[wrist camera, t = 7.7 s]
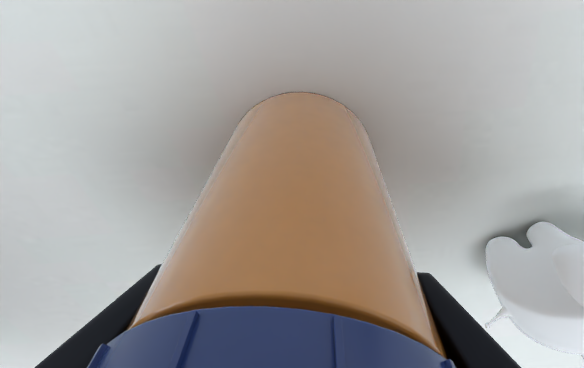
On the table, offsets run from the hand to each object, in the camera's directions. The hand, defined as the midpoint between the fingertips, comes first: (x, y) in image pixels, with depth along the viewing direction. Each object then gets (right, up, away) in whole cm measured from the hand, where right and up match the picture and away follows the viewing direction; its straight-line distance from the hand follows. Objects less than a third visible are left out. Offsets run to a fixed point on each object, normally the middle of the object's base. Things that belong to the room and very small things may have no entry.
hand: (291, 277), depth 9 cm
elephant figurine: (+13, 0, +8) cm, 15 cm away
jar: (0, +4, +6) cm, 7 cm away
